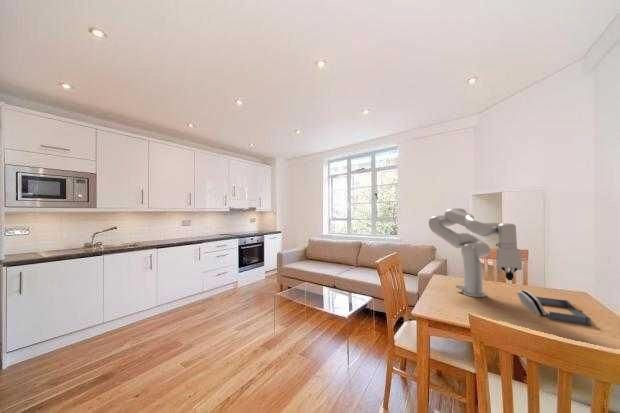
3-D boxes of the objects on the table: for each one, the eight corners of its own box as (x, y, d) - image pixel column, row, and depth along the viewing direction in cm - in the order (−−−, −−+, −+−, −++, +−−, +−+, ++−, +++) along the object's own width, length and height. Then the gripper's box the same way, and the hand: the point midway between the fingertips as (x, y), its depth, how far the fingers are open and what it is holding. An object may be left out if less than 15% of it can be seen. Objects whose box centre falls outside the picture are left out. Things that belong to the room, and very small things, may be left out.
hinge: (551, 317, 113) (541, 297, 114) (539, 319, 114) (530, 299, 116) (532, 303, 129) (524, 286, 130) (522, 305, 130) (514, 288, 131)
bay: (550, 319, 110) (550, 311, 110) (534, 302, 130) (534, 295, 130) (591, 326, 104) (591, 317, 104) (567, 306, 123) (567, 299, 123)
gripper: (491, 246, 127) (493, 280, 127) (528, 247, 120) (530, 283, 119) (489, 244, 134) (491, 276, 133) (523, 245, 126) (525, 279, 126)
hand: (509, 279), depth 126 cm, fingers closed
